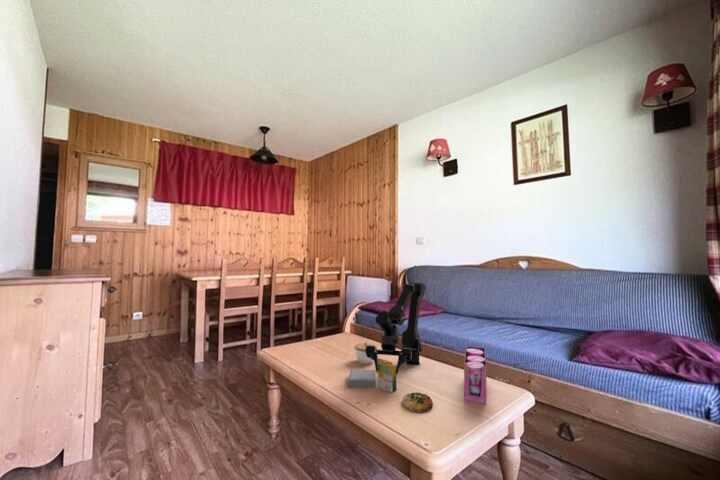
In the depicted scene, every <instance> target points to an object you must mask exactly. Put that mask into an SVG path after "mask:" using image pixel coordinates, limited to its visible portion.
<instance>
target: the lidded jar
mask: <svg viewBox="0 0 720 480" xmlns="http://www.w3.org/2000/svg"><path fill="white" fill-rule="evenodd" d="M367 345H371V346H376V349H378V347H377V345H376V344H375V343H371V342H360V343H357V344H355V345H354V349H355V350H354V351H355V357H356V359H357V361H359V363H360V364H363V365H369V364H372V362H374V360H372V359H371V358H368V357H367V356H366V352H365V349H366V346H367Z"/></svg>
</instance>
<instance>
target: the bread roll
mask: <svg viewBox="0 0 720 480" xmlns="http://www.w3.org/2000/svg"><path fill="white" fill-rule="evenodd" d="M401 403H402V405H403V406H404V408H405V409H406V410H410V411H412V412H414V413H425V412H429V411H431V410H432V409H433V407H434V402H433V400H432V398H431V396H429V395H428V394H425V393H421V392H418V391H416V392H414V391H413V392H411V393H407V394H404V395H403V396H402V400H401Z"/></svg>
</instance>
